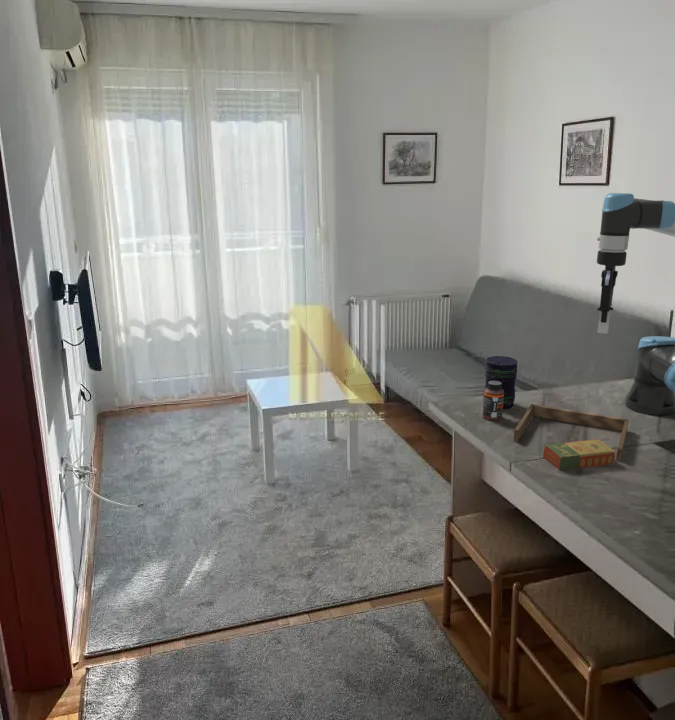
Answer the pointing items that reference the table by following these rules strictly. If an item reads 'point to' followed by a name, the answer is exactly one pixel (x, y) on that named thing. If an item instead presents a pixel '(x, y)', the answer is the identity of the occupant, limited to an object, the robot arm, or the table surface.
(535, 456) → the table surface
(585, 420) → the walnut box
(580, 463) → the carton
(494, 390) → the supplement bottle
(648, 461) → the table surface
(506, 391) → the storage jar
